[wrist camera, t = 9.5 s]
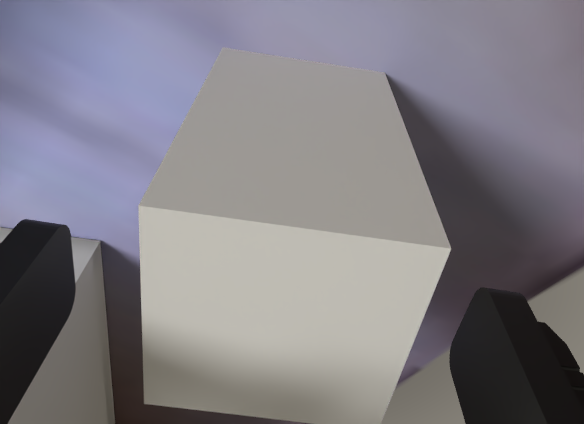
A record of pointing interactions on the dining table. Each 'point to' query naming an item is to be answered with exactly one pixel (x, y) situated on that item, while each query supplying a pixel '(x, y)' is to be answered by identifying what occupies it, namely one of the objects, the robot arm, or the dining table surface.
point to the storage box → (75, 354)
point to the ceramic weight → (286, 246)
